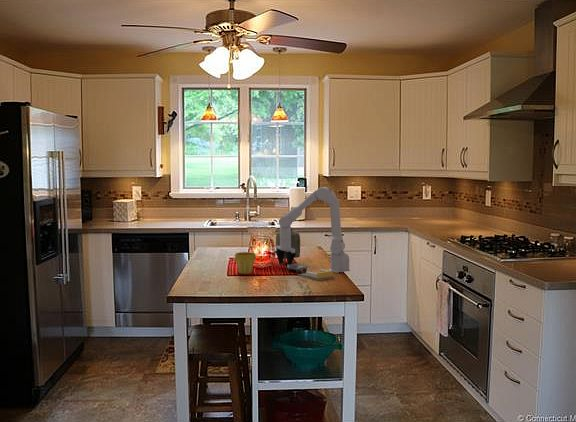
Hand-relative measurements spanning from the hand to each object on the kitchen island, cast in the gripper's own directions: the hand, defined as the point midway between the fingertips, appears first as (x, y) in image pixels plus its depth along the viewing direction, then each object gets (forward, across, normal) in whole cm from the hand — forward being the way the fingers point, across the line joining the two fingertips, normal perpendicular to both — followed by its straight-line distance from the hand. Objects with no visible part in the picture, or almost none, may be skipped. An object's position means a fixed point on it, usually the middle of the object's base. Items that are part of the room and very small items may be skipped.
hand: (285, 264), depth 282 cm
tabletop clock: (+2, -11, +10) cm, 14 cm away
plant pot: (+2, -4, -22) cm, 23 cm away
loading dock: (+2, +24, 0) cm, 24 cm away
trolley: (+2, +10, 0) cm, 11 cm away
